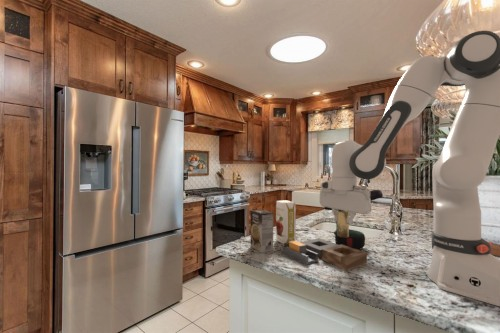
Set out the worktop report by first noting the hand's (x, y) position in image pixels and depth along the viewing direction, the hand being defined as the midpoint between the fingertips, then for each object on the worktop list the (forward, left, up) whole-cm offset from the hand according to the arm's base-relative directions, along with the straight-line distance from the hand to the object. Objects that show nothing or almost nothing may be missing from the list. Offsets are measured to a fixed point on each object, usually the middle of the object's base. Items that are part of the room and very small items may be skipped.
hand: (343, 222), depth 90 cm
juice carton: (+30, +3, -15) cm, 33 cm away
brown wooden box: (0, 0, -15) cm, 15 cm away
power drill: (+8, -16, -15) cm, 23 cm away
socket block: (+13, -1, -15) cm, 19 cm away
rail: (+12, +11, -15) cm, 22 cm away
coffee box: (+28, +18, -15) cm, 36 cm away
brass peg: (0, 0, -5) cm, 5 cm away
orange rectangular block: (+13, +11, -14) cm, 22 cm away
